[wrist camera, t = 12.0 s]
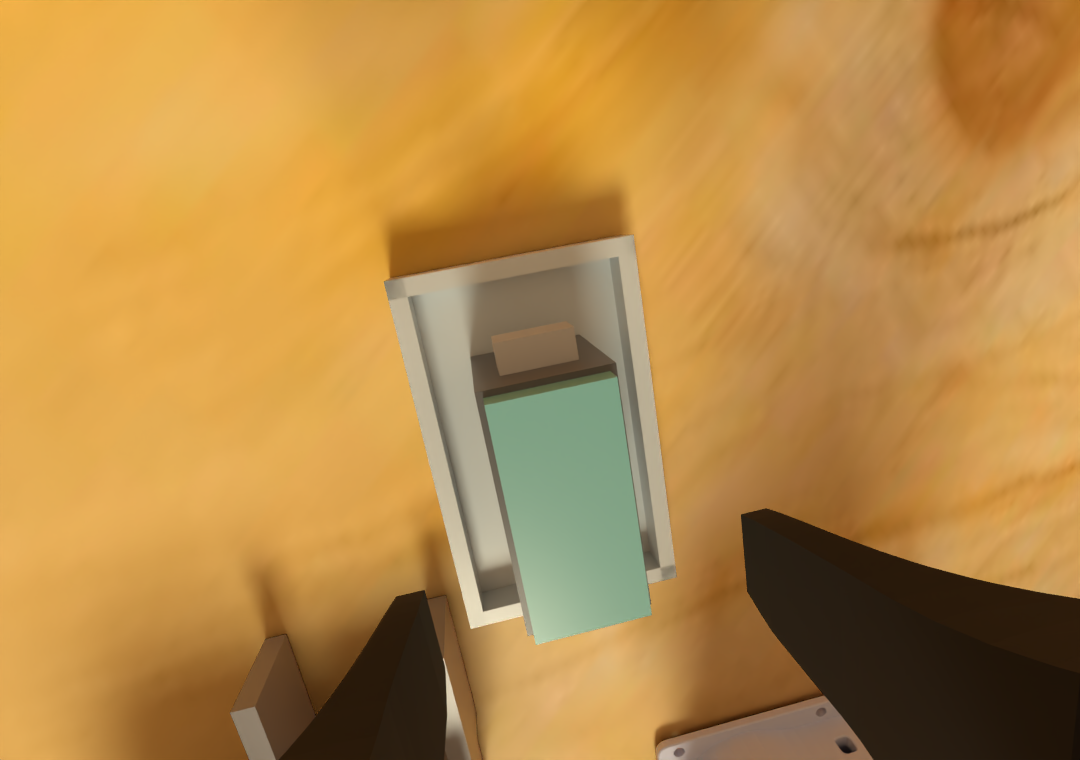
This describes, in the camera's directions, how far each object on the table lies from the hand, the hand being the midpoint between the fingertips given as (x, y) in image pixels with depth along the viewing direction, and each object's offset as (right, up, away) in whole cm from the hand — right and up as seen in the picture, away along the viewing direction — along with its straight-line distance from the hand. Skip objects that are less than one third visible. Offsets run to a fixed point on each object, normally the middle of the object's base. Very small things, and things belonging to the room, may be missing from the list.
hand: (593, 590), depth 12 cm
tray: (-1, +3, +9) cm, 9 cm away
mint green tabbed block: (-1, +2, +9) cm, 9 cm away
